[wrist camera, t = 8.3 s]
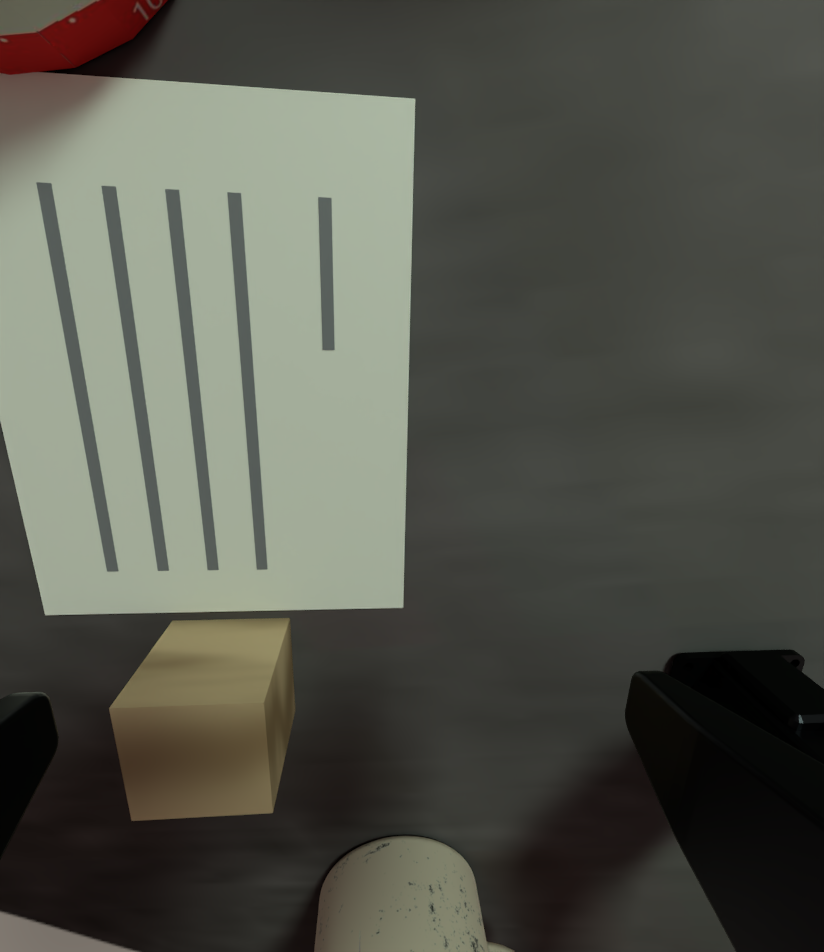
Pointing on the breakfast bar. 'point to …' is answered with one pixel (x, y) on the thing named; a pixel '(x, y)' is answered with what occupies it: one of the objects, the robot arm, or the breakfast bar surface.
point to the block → (207, 720)
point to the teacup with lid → (401, 901)
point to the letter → (206, 342)
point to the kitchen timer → (66, 31)
